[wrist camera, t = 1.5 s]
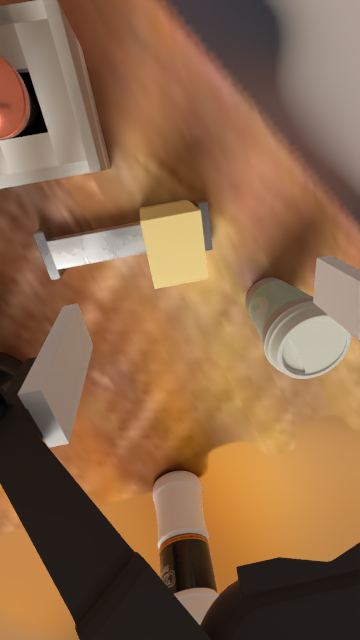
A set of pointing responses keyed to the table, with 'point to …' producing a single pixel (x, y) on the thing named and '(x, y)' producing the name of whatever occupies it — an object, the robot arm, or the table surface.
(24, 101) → the plunger
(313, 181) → the table surface
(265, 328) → the coffee cup
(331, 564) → the robot arm
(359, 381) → the table surface
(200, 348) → the table surface
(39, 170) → the grey open box
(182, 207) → the carriage
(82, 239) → the rail
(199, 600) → the vodka
